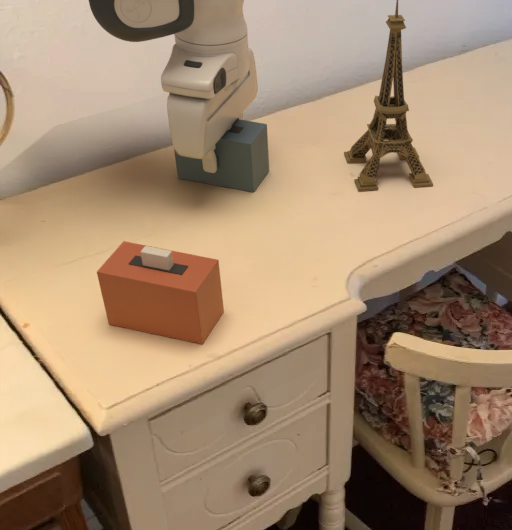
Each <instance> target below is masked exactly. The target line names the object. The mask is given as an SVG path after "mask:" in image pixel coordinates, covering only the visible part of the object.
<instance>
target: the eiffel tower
mask: <svg viewBox="0 0 512 530" xmlns="http://www.w3.org/2000/svg"><path fill="white" fill-rule="evenodd" d="M387 17H388V19H387V20H386V21H385V23H386V26H387V28H389V35H388V41H387V47H386V55H385V61H384V65H383V66H384V67H383V71H382V77H381V83H380V87H379V88H380V89H379V95H374V98H373V104H374V107H375V110H374V113H373V116H372V120H371V121H370V123H366V125H367V130H366V131H365V132H364V133H363V134H362V135H361V136H360V137H359V138H358V139H357V140H356V141H355V143H353V144H352V146H351V147H350V149H349V150H347V151H343V155H344V158H345V161H346V163H347V164H354V163H355V164H357V163H366V164H365V165H364V166H363V168H362V170H361V171H360V173H359V175H358V176H357V178H354V180H353V181H354V184H355V187H356V189H357V192H369V191H370V192H371V191H378V190H379V186H378V181H377V176H378V175H377V174H378V171H379V166H380V162H381V159H382V158H383V157H385V156H386V155H388V154H391V153H395V154H396V153H397V155H398V157H399V159H400V161H403V160H405V162H406V164H407V166H408V168H409V170H410V172H409V175H408V178H409V180H410V182H411V184H412V187H413V188H427V187H434V183H433V181H432V179H431V177H430V175H429V173H426V169H425V168H424V166H423V164H422V162H421V160H420V155H419V153H418V151H417V150H416V148H415V147H414V146H413V144H412V143H413V142H414V141H413V140H414V139H413V138H412V136H411V135H410V132H409V130H408V119H407V112H409V111H410V109H409V104H408V103H407V102H406V100H405V92H404V91H405V90H404V72H403V51H402V50H403V49H402V48H403V47H402V45H403V43H402V31H403V30H405V29H407V26H406V24H405V21H406V20H405V18H404V16H403V15H402V14H399V0H396V3H395V12H394V14H387ZM392 87H393V96H391V95H392ZM391 119H394V121H395V123H387V121H388V120H391ZM370 150H371V154H372V155H371V157H370V158H369V160H368V161H367V156H366V154H367V153H369V151H370Z"/></svg>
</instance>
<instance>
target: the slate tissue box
mask: <svg viewBox="0 0 512 530" xmlns="http://www.w3.org/2000/svg"><path fill="white" fill-rule="evenodd" d="M173 150H174V160H175V166H176V173H177V178H178V179H179V180H186V181H190V182H197V183H202V184H207V185H213V186H218V187H224V188H229V189H235V190H240V191H244V192H250V193H251V192H252V193H254V192H255V191H256V190H257V189H258V187H259V186H260V185H261V183H262V182H263V181H264V179H265V178H266V176H267V175H268V174H269V172H270V158H269V138H268V124H267V123H264V122H257V121H251V120H245V119H242V120H240V119H237V120H236V121H235V122H234V123H233V124H232V126H231V127H230V128H229V129H228V130H227V131H226V132H225V134H224V135H223V136H222V137H221V138H220V139H219V141H218V142H217V143H216V144H215V149H214V153H215V155H216V156H219V163H220V167H219V168H218V169H217V171H216V172H215V173H210V172H206V171H204V169H203V163H202V159H196V158H190V157H185V156H180V155H179V154H178V153H177V152H176V151H175V149H174V148H173Z"/></svg>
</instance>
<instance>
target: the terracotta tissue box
mask: <svg viewBox="0 0 512 530" xmlns="http://www.w3.org/2000/svg"><path fill="white" fill-rule="evenodd" d="M96 276H97V280H98V284H99V288H100V293H101V297H102V301H103V306H104V310H105V314H106V319H107V324H108V325H111V326H116V327H120V328H123V329H124V328H125V329H129V330H135V331H138V332H144V333H149V334H152V335H158V336H162V337H167V338H171V339H175V340H181V341H186V342H189V343H190V342H191V343H195V344H200V345H203V344H204V343H205V341H206V340H207V338H208V337H209V335H210V333H211V332H212V331H213V329H214V327H215V326H216V325H217V322H219V320H220V319H221V317H222V315H223V314H224V312H225V308H224V299H223V289H222V281H221V270H220V261H219V259H216V258H211V257H207V256H203V255H197V254H191V253H186V252H181V251H176V250H171V249H166V248H161V247H157V246H156V247H155V246H150V245H147V244H140V243H136V242H131V241H125V240H123V241H122V242H121V244H119V246H118V247H117V248H116V249H115V250H114V251H113V252H112V253H111V255H110V256H109V257H108V258H107V259H106V261H104V263H103V264H102V265H101V266H100V267H99V268H98V270H97V271H96Z"/></svg>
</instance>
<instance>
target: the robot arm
mask: <svg viewBox="0 0 512 530" xmlns="http://www.w3.org/2000/svg"><path fill="white" fill-rule="evenodd" d="M244 2H245V0H88V4H89V8H90V11H91V13H92V15H93V17H94V19H95V20H96V23H98V24H99V26H100V27H101V28H102V29H103V30H104V31H106V32H107V34H109V35H111V36H113V37H114V38H116V39H119V40H120V41H121V40H122V41H125V42H131V43H141V42H147V41H152V40H156V39H161V38H164V37H165V38H166V37H169V36H172V35H174V44H173V46H172V50H171V54H170V56H169V59H168V61H167V63H166V65H165V67H164V69H163V71H162V73H161V76H160V84H161V89H162V91H163V92H165V93H168V95H167V101H166V110H167V111H166V113H167V120H168V126H169V132H170V137H171V138H170V139H171V143H172V147H173V150H174V149H175V151H176V152H177V153H178V154H179V155H180V156H185V157H190V158H196V159H202V163H203V169H204V171H206V172H210V173H215V172H216V171H217V169H218V168H219V167H220V163H219V156H216V155H215V153H214V149H215V144H216V143H217V142H218V141H219V139H220V138H221V137H222V136H223V135H224V134H225V132H226V131H227V130H228V129H229V128H230V127H231V126H232V124H233V123H234V122H235V121H236V120H237V119H240V120H244V119H243V118H244V112H245V111H246V110H247V109H248V107H249V106H251V104H252V103H253V102H254V100H256V98H257V95H258V89H259V84H258V75H257V66H256V59H255V54H254V51H253V50H252V47H251V48H250V47H249V34H248V26H247V25H248V24H247V22H246V19H245V15H244Z"/></svg>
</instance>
